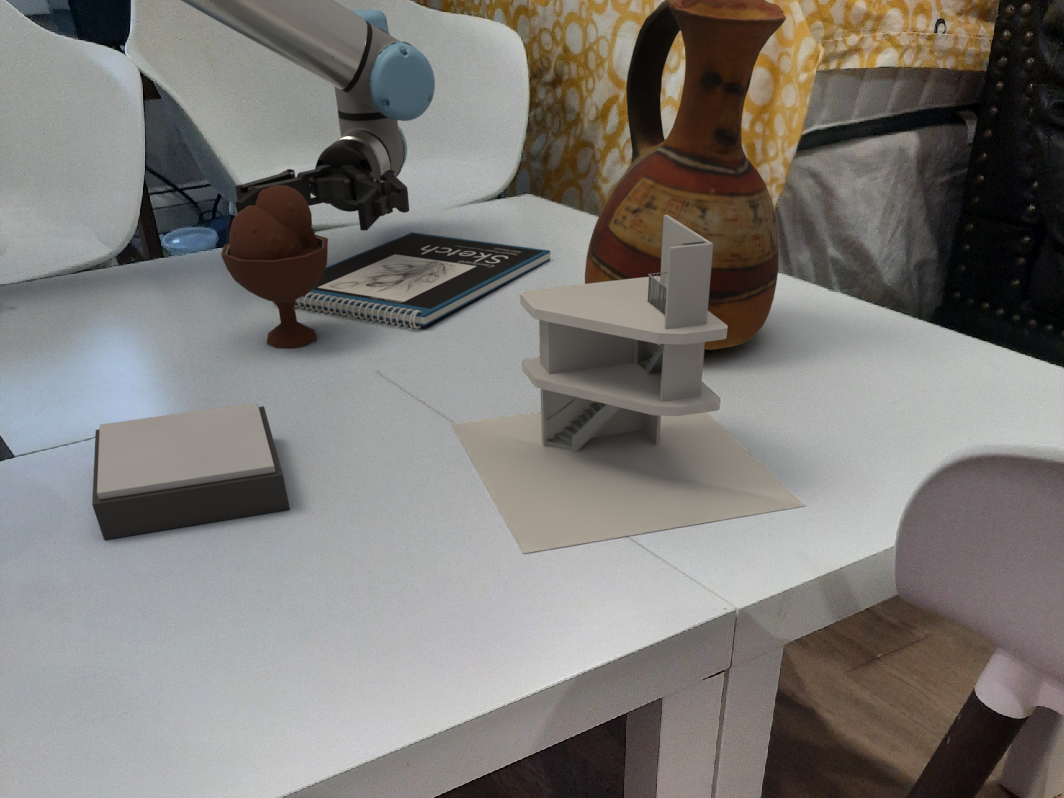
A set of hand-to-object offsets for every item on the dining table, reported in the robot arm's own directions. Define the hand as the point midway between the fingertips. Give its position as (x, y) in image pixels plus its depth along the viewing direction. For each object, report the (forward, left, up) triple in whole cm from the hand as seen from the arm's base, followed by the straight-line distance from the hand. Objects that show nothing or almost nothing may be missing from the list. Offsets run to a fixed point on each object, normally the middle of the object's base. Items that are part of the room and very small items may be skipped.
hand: (301, 216), depth 109 cm
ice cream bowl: (+8, -4, -10) cm, 14 cm away
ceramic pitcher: (+22, +35, -10) cm, 43 cm away
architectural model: (+48, +18, -10) cm, 52 cm away
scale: (+40, -16, -10) cm, 44 cm away
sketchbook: (-7, +13, -10) cm, 18 cm away
